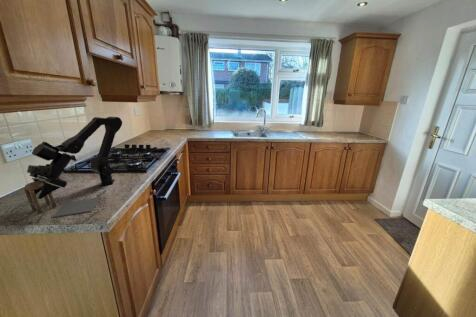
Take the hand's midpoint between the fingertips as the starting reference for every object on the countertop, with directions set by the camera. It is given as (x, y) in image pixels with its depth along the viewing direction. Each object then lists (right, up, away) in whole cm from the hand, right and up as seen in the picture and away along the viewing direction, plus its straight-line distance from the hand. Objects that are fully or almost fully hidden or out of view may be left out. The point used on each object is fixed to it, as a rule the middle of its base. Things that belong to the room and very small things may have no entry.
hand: (35, 197), depth 88 cm
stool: (+1, -6, +3) cm, 7 cm away
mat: (+15, -5, +4) cm, 17 cm away
